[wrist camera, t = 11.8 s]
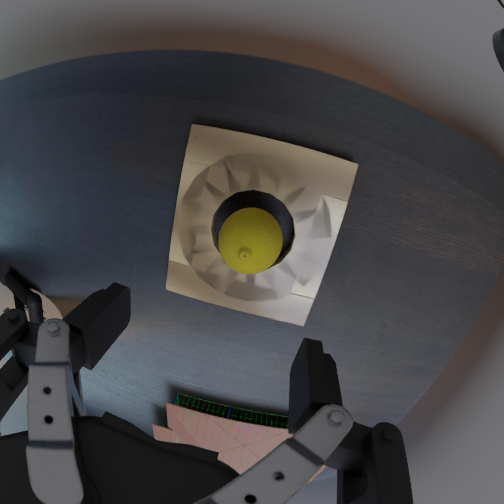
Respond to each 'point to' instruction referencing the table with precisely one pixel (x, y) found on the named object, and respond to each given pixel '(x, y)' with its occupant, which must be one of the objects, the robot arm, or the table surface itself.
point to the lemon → (250, 240)
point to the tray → (269, 181)
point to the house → (222, 435)
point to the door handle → (25, 298)
